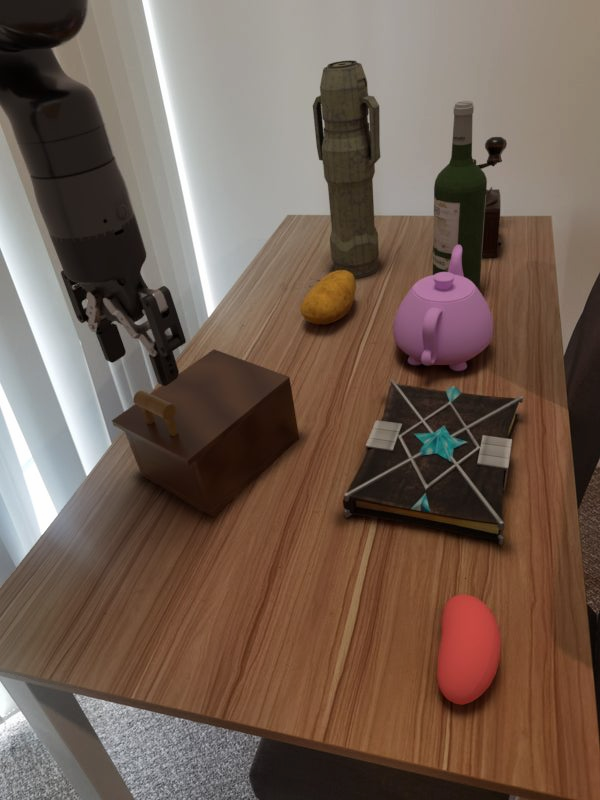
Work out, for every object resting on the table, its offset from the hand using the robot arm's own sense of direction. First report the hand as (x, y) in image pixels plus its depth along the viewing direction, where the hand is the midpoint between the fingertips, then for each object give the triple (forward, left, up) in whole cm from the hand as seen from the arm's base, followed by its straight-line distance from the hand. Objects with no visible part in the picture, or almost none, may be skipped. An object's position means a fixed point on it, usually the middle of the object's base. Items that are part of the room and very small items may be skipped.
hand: (142, 369), depth 62 cm
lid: (+6, -3, -9) cm, 11 cm away
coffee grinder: (+72, -32, -18) cm, 81 cm away
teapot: (+33, -29, -18) cm, 48 cm away
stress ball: (-16, -34, -18) cm, 41 cm away
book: (+8, -30, -18) cm, 36 cm away
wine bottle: (+51, -30, -18) cm, 62 cm away
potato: (+42, -10, -18) cm, 47 cm away
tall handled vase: (+60, -11, -18) cm, 64 cm away
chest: (+6, -3, -18) cm, 19 cm away
